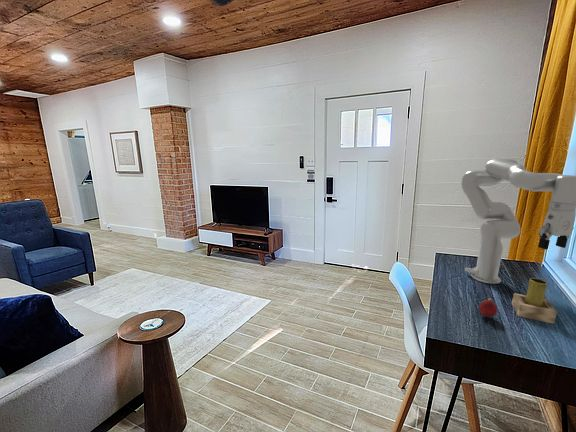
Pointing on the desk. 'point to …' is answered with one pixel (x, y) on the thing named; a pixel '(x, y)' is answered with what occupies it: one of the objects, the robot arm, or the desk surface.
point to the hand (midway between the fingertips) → (551, 247)
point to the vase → (536, 292)
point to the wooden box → (534, 309)
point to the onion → (488, 308)
